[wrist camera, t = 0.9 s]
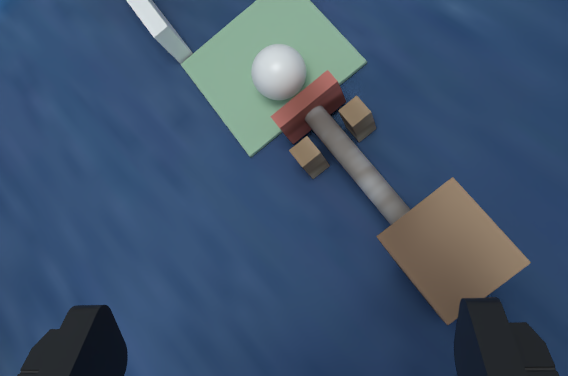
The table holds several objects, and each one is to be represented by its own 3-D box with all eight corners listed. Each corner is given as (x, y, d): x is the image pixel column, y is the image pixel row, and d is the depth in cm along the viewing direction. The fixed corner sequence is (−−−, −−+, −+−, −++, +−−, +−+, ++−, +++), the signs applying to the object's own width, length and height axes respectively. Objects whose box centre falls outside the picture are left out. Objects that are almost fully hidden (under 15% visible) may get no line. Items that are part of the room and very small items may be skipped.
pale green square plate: (287, -23, 38) (286, -25, 37) (367, 63, 35) (366, 61, 34) (182, 66, 38) (180, 64, 38) (251, 157, 35) (249, 156, 35)
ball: (291, 49, 36) (276, 22, 33) (322, 84, 35) (310, 60, 31) (251, 82, 36) (232, 59, 33) (280, 118, 35) (264, 98, 32)
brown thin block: (337, 93, 34) (291, -13, 23) (498, 276, 29) (540, 255, 18) (286, 135, 35) (215, 51, 23) (436, 323, 30) (438, 332, 18)
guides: (362, 113, 34) (356, 95, 31) (376, 128, 33) (371, 111, 31) (300, 163, 34) (288, 150, 31) (313, 179, 34) (302, 167, 31)
